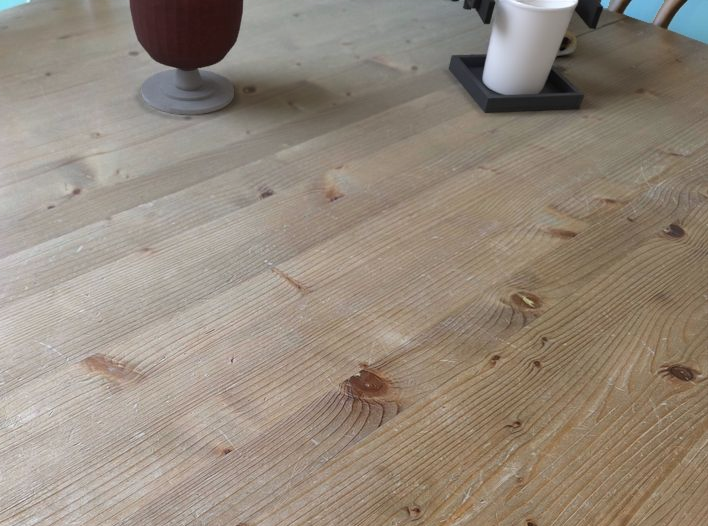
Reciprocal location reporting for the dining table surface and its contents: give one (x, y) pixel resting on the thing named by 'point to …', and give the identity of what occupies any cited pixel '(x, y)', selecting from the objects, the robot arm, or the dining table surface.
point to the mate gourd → (187, 51)
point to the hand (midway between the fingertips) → (543, 15)
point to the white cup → (525, 44)
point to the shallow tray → (552, 96)
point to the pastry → (567, 44)
